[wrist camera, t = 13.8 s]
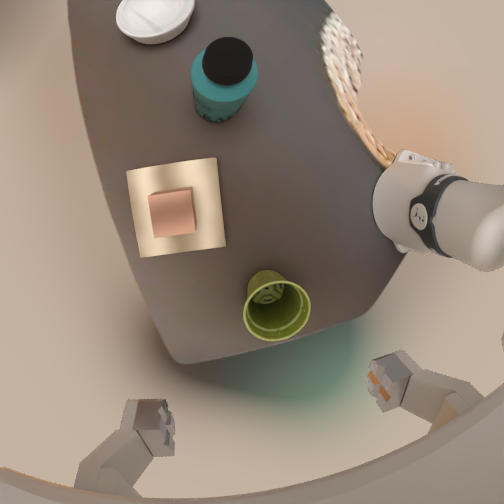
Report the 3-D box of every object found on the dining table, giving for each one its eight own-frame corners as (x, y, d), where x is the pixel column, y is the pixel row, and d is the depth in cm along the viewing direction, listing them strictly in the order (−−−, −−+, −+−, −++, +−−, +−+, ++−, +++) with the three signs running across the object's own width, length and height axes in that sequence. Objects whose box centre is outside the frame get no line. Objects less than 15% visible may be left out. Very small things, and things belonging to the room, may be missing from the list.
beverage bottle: (210, 75, 35) (216, 9, 16) (249, 98, 37) (285, 48, 18) (185, 111, 36) (167, 66, 18) (224, 133, 38) (240, 107, 19)
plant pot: (241, 317, 48) (249, 347, 39) (231, 265, 44) (237, 289, 36) (295, 305, 48) (312, 332, 40) (290, 254, 45) (308, 274, 37)
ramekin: (114, 48, 31) (104, 36, 26) (138, -6, 28) (132, -21, 23) (182, 54, 34) (180, 40, 29) (203, -1, 31) (204, -18, 26)
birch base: (215, 158, 39) (216, 157, 35) (224, 238, 43) (226, 246, 39) (133, 170, 38) (126, 171, 34) (146, 249, 42) (140, 257, 38)
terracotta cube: (197, 223, 38) (195, 232, 33) (160, 228, 37) (154, 238, 32) (192, 186, 36) (190, 189, 31) (155, 191, 35) (147, 196, 31)
